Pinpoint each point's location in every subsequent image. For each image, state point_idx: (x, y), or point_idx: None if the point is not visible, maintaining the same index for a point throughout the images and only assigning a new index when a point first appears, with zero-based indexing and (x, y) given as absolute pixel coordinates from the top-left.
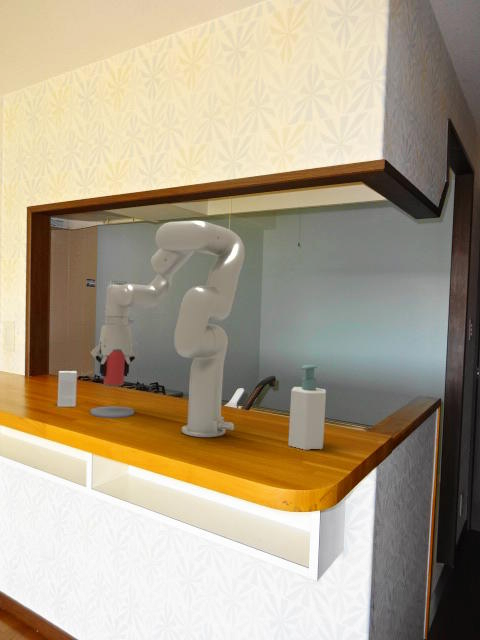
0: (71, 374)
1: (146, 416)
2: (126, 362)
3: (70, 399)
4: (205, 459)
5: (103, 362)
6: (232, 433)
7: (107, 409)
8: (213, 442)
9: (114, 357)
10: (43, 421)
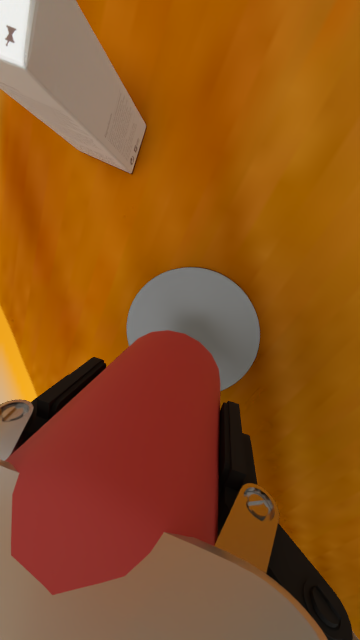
0: (4, 68)
1: (253, 414)
2: (218, 536)
3: (102, 155)
4: None
5: None
6: None
7: (181, 317)
8: None
9: None
10: (14, 329)
